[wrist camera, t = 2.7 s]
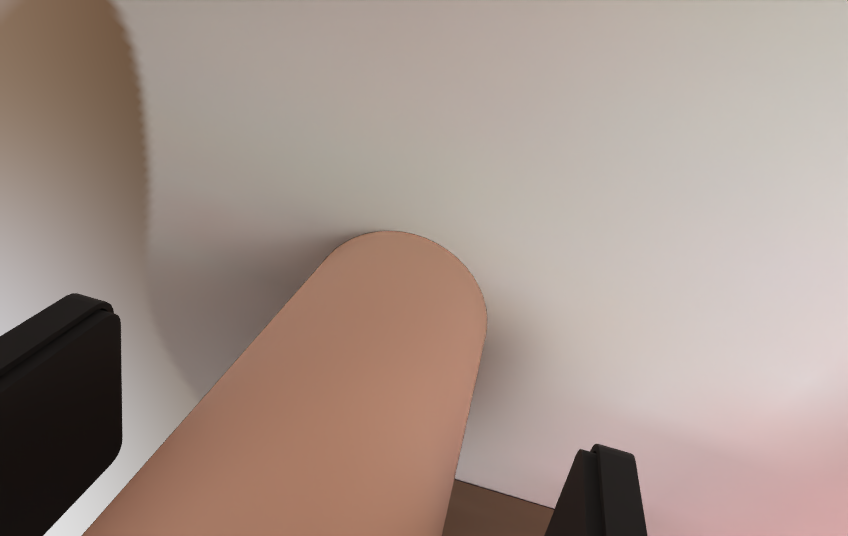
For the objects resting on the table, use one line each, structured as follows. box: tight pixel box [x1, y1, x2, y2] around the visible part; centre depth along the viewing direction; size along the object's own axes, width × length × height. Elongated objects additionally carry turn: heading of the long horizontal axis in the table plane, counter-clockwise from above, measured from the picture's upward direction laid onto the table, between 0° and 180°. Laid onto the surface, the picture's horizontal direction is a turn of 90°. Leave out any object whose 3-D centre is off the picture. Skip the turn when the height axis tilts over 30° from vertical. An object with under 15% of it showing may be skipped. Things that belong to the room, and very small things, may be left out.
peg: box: [82, 231, 487, 536], centre depth 9 cm, size 4×4×12 cm
